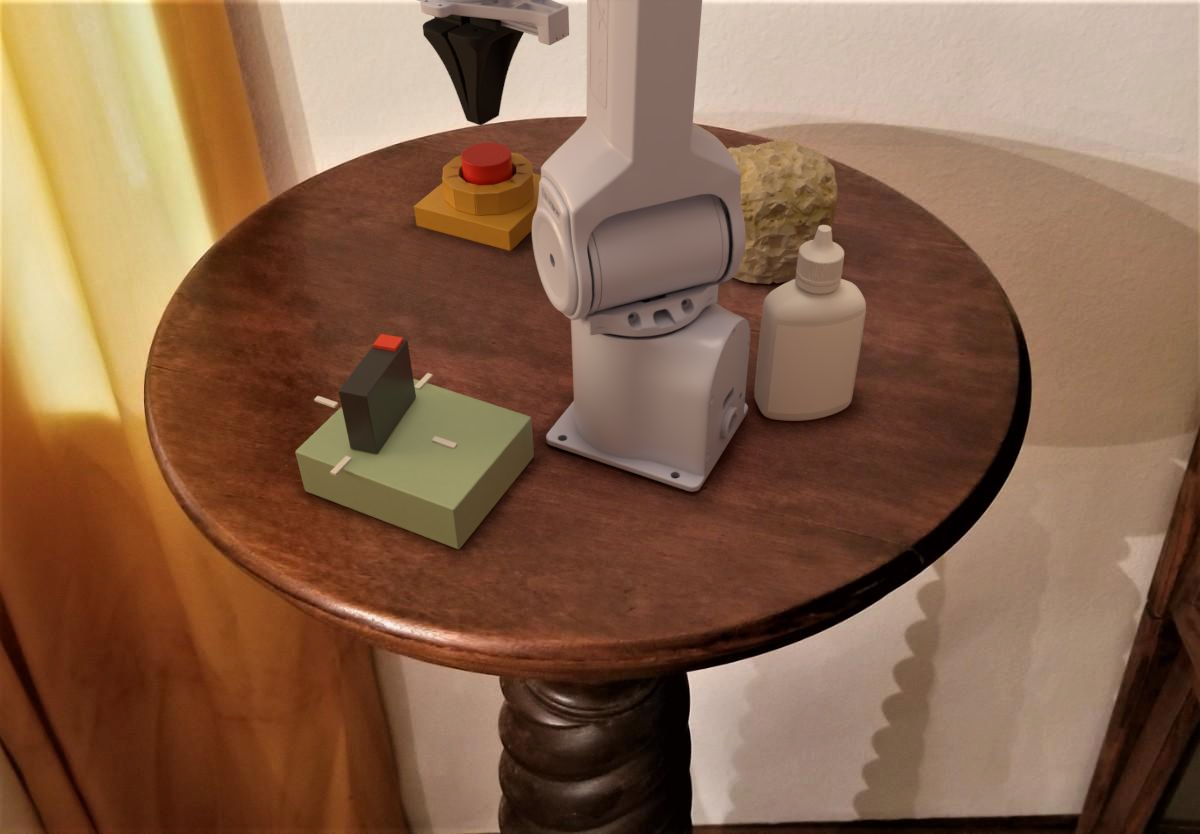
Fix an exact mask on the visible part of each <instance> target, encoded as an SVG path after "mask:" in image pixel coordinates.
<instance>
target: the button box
mask: <svg viewBox="0 0 1200 834" xmlns="http://www.w3.org/2000/svg"><path fill="white" fill-rule="evenodd" d="M511 155H512V169H513V176H512V178H511V179H510V180H508V181H505V182H501V183H498V184H495V185H475V184H471V183H467V182H466V181H465V180H464V178H463V170H462V160H461V154H459V155H457V156H455V157H453V158H452V159H451V160H450V161H449V162H448V163H446V164H445V165H444V166H443V167H442V175H441V176H442V177H441V180H442V182H441V183H440V184H439V185H437V186H436V187H435V188H434V189H433V190H432V191H430V192H429V193H428V194H427V195H425V197H422V199H421V200H419V202H417V203H416V204H415V205H414V206H413V208H414V216H415V223H416V226H417V227H419V228H424V229H426V230H427V229H428V230H431V231H435V232H438V233H441V234H446V235H450V236H453V237H457V238H461V239H463V240H464V239H465V240H468V241H472V242H476V243H479V244H483V245H487V246H490V247H494V248H498V249H501V250H505V251H508V252H511V251H512V250H513V249H514V248H516V247H517V246H518V245H519V244H520V243H521V242H522V241H523V240H525V238H526V237H527V236H528V235H529V234H530V233H532V221H533V217H534V214H535V212H536V209H537V205H538V197H539V182H540V180H541V174H540V173H534V166H533V165H534V164H533V162H531V161H530V160H528V159H527V158H526V157H525V156H524V155H523V154H520V153H517V152H513V151H511Z"/></svg>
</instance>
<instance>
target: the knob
mask: <svg viewBox="0 0 1200 834" xmlns="http://www.w3.org/2000/svg"><path fill="white" fill-rule="evenodd" d="M408 341H409V340H408V339H405V338H403V337H401V336H396V335H389V334H384V333H380V334H379V335H378V337H377V338H376V339H375V341H374V342H373V343H372V346H371V348H369V350H368V351H367V353H366V354H365V356H363V358H362V359H361V360H360V362H358V365H357V366H356V367H355V368H354V369H353V371H352V372H351V374H350V375H349V376H348V377H347V379H346V380H345V381H344V383H343V384H342V385H341V387H340V388H339V389H338V395H339V400H340V401H339V402H340V407H342V410H343V415H344V420H345V425H346V430H347V434H348V439H349V444H350V448H351V449H355V450H360V451H365V452H369V453H374V454H378V452H379V451H380V449H381V448H382V446H383V445H384V443H385V442H386V440H387V439H388V437H389V436H390V434H391V433H392V432H393V430H394V429H395V427H396V426H397V424H398V423H399V421H400V420H401V418H402V417H403V415H404V414H405V412H406V411H407V409H408V408H409V406H410V405H411V404H412V402H413V401H414V399H415V398H416V393H415V386H414V380H413V379H414V374H413V373H414V372H413V368H412V361H411V354H410V349H409V343H408Z"/></svg>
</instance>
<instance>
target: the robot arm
mask: <svg viewBox="0 0 1200 834" xmlns="http://www.w3.org/2000/svg"><path fill="white" fill-rule="evenodd" d="M417 1H418V2H420V9H421V12H422V13H423V14H425V15H429V16H432V17H434V18H431V19H429V20H427V21H425V22H424V23H423V24H422V32H423V33H422V34H423V37H424V38H425V39H426V40H427V42H429V44H430V45H431V47H432V48H433V49H434V51H435V52H436V54H437V55H438V57H439V58H440V60H441V62H442V64H443V66H444V68H445V70H446V71H447V73H448V76H449V77H450V79H451V82H452V85H453V88H454V90H455V92H456V95H457V98H458V100H459V102H460V106H461V109H462V111H463V114H464V116H465V119H466V121H467V122H470V123H472V124H476V125H478V126H483V125H485V124H487V123H489V122H490V121H492V120H494V119H496V118H498V117H499V116H500V111H501V105H502V99H503V94H504V89H505V85H506V79H507V75H508V72H509V70H510V65H511V62H512V60H513V57H514V54H515V52H516V50H517V47H518V46H519V43H520V42H521V39H522V37H523V35H524V34H528V35H531V36H532V35H533V36H536V37H537V38H538V42H539V43H540V44H545V45H548V46H551V45H554V44H556V43H558V42H559V41H562V40H563V39H565V38H567V37H569V36H570V15H569V11H570V10H569V6H568V5H566V4H563V3H560V2H557V1H555V0H417ZM702 9H703V0H586V119H585V121H584V122H583V123H582V125H580V127H579V128H578V129H577V130H576V131H574V133H573V134H572V135H571V136H569V138H568V139H567V140H566V141H564V142H563V143H562V145H560V146H559V147H558V148H557V149H556V150H555V151H554V152H553V153H552V154H551V155H550V156H549V157H548V158H547V159H546V160H545V162H544V163H543V164H542V166H541V167H540V175H541V180H540V182H539V197H538V205H537V209H536V212H535V214H534V217H533V221H532V231H531V241H532V250H533V256H534V260H535V264H536V265H535V266H536V268H537V272H538V276H539V279H540V282H541V284H542V287H543V290H544V291H545V294H546V296H547V298H548V299H549V302H550V303H551V304H552V306H553V307H554V308H555V309H556V310H557V311H558V312H560V313H561V314H563V316H565V317H566V318H568V319H569V320H570V332H571V357H572V358H571V361H572V385H573V387H572V388H573V389H572V390H573V401H572V402H571V403H570V405H569V406H568V407H567V408H566V409H565V410H564V412H563V413H562V414H561V415H560V417H559V418H558V419H557V420H556V422H555V423H554V424H553V425H552V427H551V428H550V429H549V431H547V433H546V435H545V441H546V443H547V444H548V445H549V446H550V447H551V446H552V447H555V448H557V449H560V450H563V451H566V452H570V453H572V454H575V455H578V456H582V457H585V458H588V459H590V460H594V461H597V462H599V463H603V464H605V465H607V466H612V467H614V468H617V469H621V470H624V471H627V472H630V473H633V474H636V475H640V476H642V477H645V478H648V479H650V480H654V481H657V482H660V483H662V484H666V485H668V486H671V487H674V488H677V489H681V490H684V491H686V492H691V493H694V492H697V491H699V490H700V489H701V488H702V486H703V484H704V483H705V482H706V480H707V479H708V477H709V475H710V474H711V472H712V470H713V468H714V467H715V466H716V464H717V463H718V461H719V460H720V458H721V456H722V454H723V452H724V451H725V450H726V448H727V446H728V444H729V443H730V441H731V439H732V438H733V437H734V435H735V434H736V432H737V430H738V429H739V427H740V425H741V423H742V422H743V420H744V419H745V417H746V416H747V414H748V411H749V406H748V404H747V403H746V395H747V394H746V392H747V382H748V369H749V361H750V359H749V358H750V350H751V349H750V348H751V347H750V346H751V326H750V322H749V320H748V319H747V318H745V317H743V316H741V315H739V314H736V313H734V312H732V311H730V310H728V309H726V308H725V307H723V306H721V305H720V304H719V303H718V302H719V301H718V300H719V286H720V285H719V284H720V283H725V282H729V281H730V280H732V279H734V278H733V277H734V276H735V274H736V273H737V271H738V269H739V267H740V264H741V260H742V258H743V255H744V251H745V244H746V231H745V222H744V216H743V212H742V207H741V172H740V170H739V168H738V166H737V164H736V162H735V160H734V158H733V157H732V155H731V153H730V152H729V151H728V149H729V148H727V147H726V146H725V145H724V143H723V142H722V141H721V140H720V139H719V138H718V137H716V135H714V134H712V132H710V131H708V130H707V129H705V128H703V126H700V125H698V124H697V123H695V122H694V111H695V100H696V99H695V98H696V87H697V86H696V85H697V74H698V63H699V62H698V61H699V48H700V37H701V36H700V35H701V21H702Z"/></svg>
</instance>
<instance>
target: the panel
mask: <svg viewBox="0 0 1200 834" xmlns="http://www.w3.org/2000/svg"><path fill="white" fill-rule="evenodd" d="M433 377H434V374H432V373H430V372H427V373H426V374H425V375H424V376H423V377H422V378H421V379H420V380H419V379H416V378H413V380H414V386H415V393H416V398H415V399H414V401H413V402H412V404H411V405H410V406H409V408H408V409H407V411H406V412H405V414H404V415H403V417H402V418H401V420H400V421H399V423H398V424H397V426H396V427H395V429H394V430H393V432H392V433H391V434H390V436H389V437H388V439H387V440H386V442H385V443H384V445H383V446H382V448H381V449H380V451H379V452H378V454H374V453H369V452H365V451H360V450H355V449H351V448H350V444H349V439H348V434H347V430H346V425H345V420H344V415H343V410H342V406H340V407H339V408H338V409H337V410H336V411H335V412H334V413H333V414H332V415H331V416H330V417H329V418H328V419H327V420H326V421H325V422H324V423H323V424H321V426H320V427H318V429H317V430H316V431H314V433H313V434H311V435H310V436H309V437H308V439H306V440H305V441H304V442H303V443H302V444H301V445H300V446H299V447H298V448H297V449H296V450H295V456H296V460H297V465H298V469H299V473H300V476H301V481H302V485H303V488H304V491H305V492H306V493H309V494H311V495H315V496H317V497H320V498H321V499H325V500H328V501H330V502H333V503H335V504H338V505H340V506H343V507H346V508H348V509H351V510H353V511H357V512H359V513H362V514H364V515H367V516H370V517H372V518H375V519H378V520H380V521H383V522H385V523H388V524H390V525H393V526H396V527H398V528H401V529H404V530H406V531H409V532H411V533H414V534H417V535H419V536H422V537H425V538H427V539H429V540H432V541H435V542H438V543H441V544H443V545H446V546H448V547H451V548H453V549H456V550H461V548H462V547H463V546H464V544H465V543H466V542H467V540H468V539H469V538H470V537H471V536H472V534H473V533H474V532H475V531H476V529H477V528H479V526H480V525H481V524H482V523H483V521H484V519H486V517H487V516H488V515H489V513H490V512H491V511H492V510H493V508H494V507H495V506H496V504H498V502H499V501H500V500H501V499H502V497H503V496H504V495H505V493H506V492H507V491H508V490H509V488H510V487H511V486H512V485H513V483H514V482H515V481H516V479H518V477H519V476H520V475H521V473H522V472H523V471H524V470H525V469H526V467H528V465H529V463H531V462H532V459H534V458H535V450H534V438H533V437H534V436H533V424H532V423H533V421H532V417H531V415H530V416H529V415H526V414H523V413H520V412H517V411H514V410H511V409H508V408H505V407H502V406H499V405H496V404H493V403H490V402H487V401H483V400H481V399H477V398H474V397H471V396H468V395H465V394H462V393H459V392H456V391H453V390H449V389H448V388H443V387H440V386H437V385H434V384H431V383H428V382H429V381H431V379H432V378H433ZM313 401H314V402H315V403H318V404H322V405H324V406H327V407H329V408H333V409H336V408H337V407H338V406H339V402H337V401H335V400H331V399H329V398H326V397H323V396H321V395H317V396H316V397H315V398H314V399H313Z"/></svg>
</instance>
